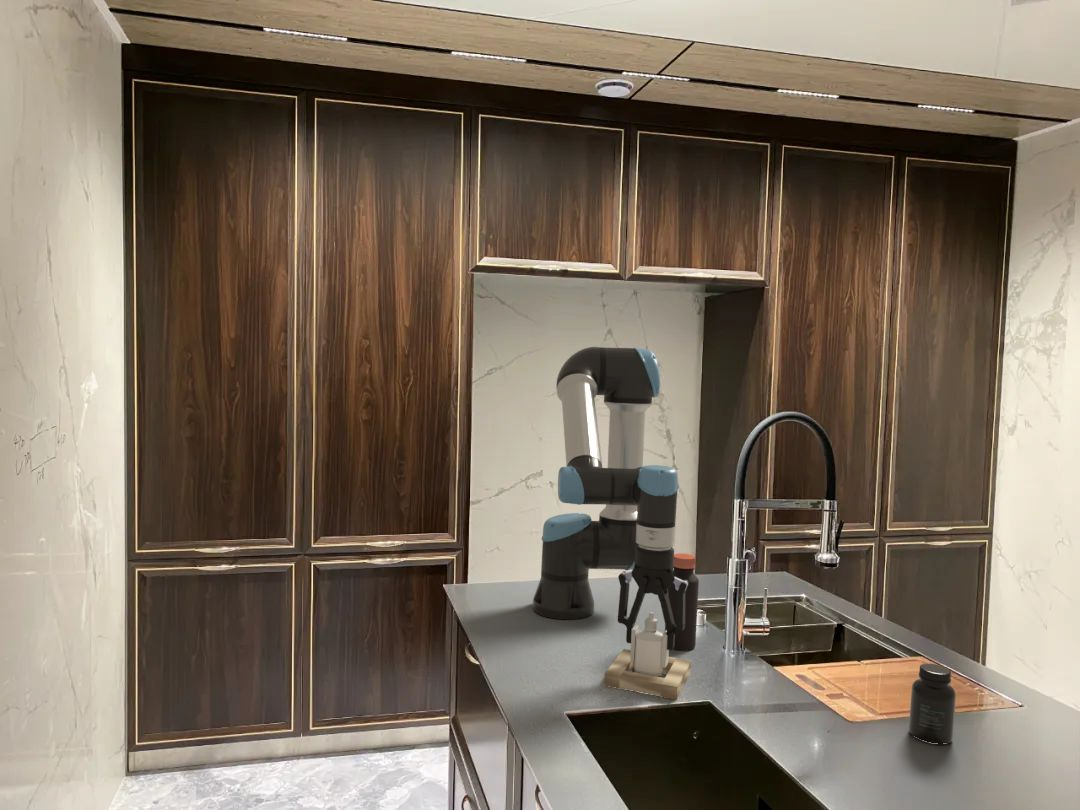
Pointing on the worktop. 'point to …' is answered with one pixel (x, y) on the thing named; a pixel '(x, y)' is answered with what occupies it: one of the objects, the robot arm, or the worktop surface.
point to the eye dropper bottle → (649, 649)
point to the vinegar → (684, 571)
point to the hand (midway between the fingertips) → (649, 661)
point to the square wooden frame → (648, 677)
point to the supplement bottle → (932, 705)
